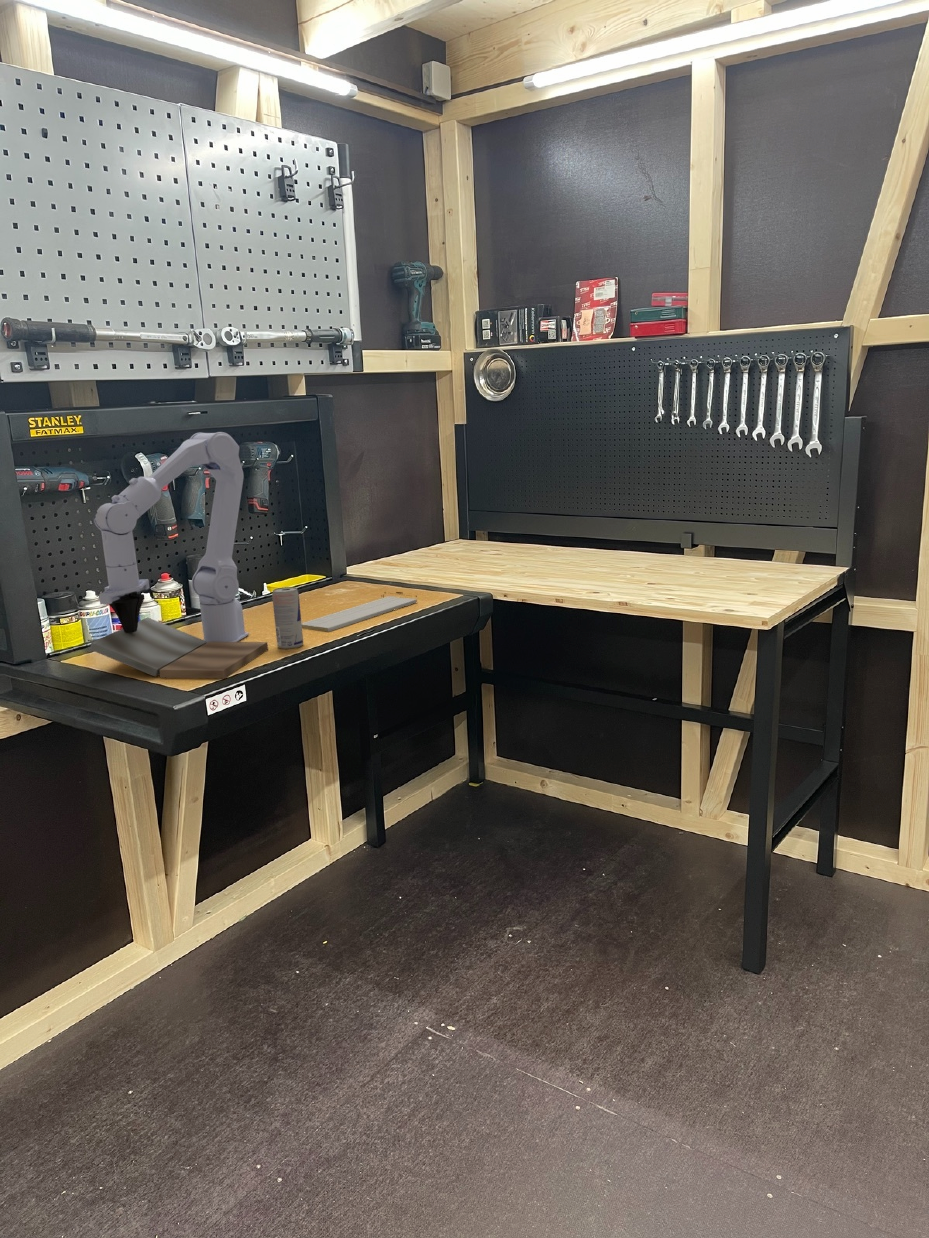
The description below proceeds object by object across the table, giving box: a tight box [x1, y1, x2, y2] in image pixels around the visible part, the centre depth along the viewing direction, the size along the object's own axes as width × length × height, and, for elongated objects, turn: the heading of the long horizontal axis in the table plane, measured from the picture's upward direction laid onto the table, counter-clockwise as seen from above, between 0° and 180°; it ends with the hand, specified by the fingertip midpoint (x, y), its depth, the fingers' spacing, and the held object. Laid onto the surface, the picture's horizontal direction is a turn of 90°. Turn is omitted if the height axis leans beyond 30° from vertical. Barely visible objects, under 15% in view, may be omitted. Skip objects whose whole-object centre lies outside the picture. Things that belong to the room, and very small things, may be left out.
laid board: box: [159, 641, 269, 680], centre depth 181 cm, size 20×13×2 cm, turn 168°
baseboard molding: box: [301, 591, 418, 633], centre depth 217 cm, size 31×3×12 cm
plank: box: [89, 617, 207, 677], centre depth 184 cm, size 20×14×2 cm
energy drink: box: [271, 586, 304, 650], centre depth 190 cm, size 5×5×12 cm
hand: (130, 631), depth 184 cm, fingers closed, pressing on plank
